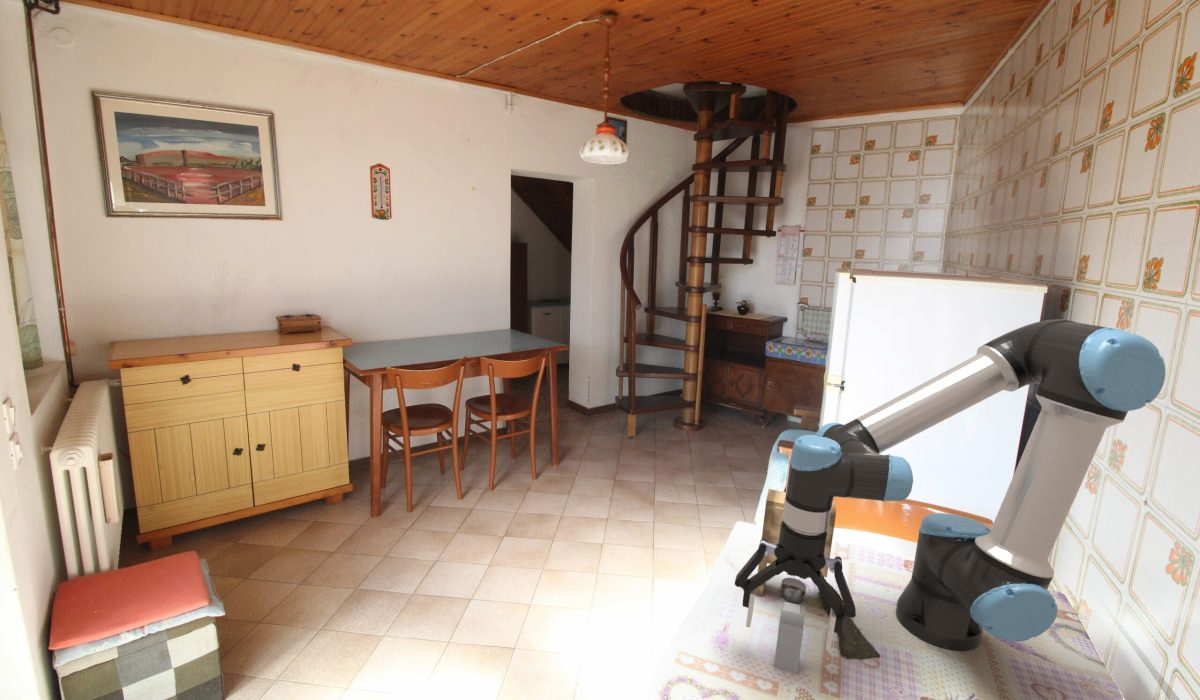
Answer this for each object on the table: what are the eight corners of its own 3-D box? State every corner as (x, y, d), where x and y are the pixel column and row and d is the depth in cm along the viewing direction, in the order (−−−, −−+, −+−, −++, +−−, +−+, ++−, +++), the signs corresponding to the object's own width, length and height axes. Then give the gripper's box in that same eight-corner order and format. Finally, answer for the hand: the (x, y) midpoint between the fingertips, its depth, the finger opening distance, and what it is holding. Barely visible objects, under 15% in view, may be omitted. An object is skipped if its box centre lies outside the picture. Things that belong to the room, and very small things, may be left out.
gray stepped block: (800, 617, 117) (806, 577, 116) (797, 673, 102) (803, 628, 100) (780, 611, 119) (785, 572, 117) (773, 667, 103) (779, 622, 101)
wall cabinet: (821, 596, 125) (835, 501, 120) (821, 615, 118) (836, 516, 114) (757, 580, 129) (768, 488, 125) (754, 598, 123) (765, 502, 118)
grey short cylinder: (804, 593, 126) (806, 581, 125) (804, 606, 121) (805, 594, 120) (780, 587, 127) (782, 575, 127) (779, 600, 123) (780, 587, 122)
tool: (881, 667, 107) (886, 654, 106) (841, 663, 106) (846, 650, 105) (835, 589, 127) (838, 578, 126) (801, 586, 126) (804, 574, 125)
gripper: (881, 533, 98) (861, 642, 102) (734, 500, 107) (721, 602, 111) (886, 554, 91) (864, 670, 96) (727, 517, 100) (714, 625, 104)
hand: (787, 634), depth 103 cm, fingers open, 13 cm apart
